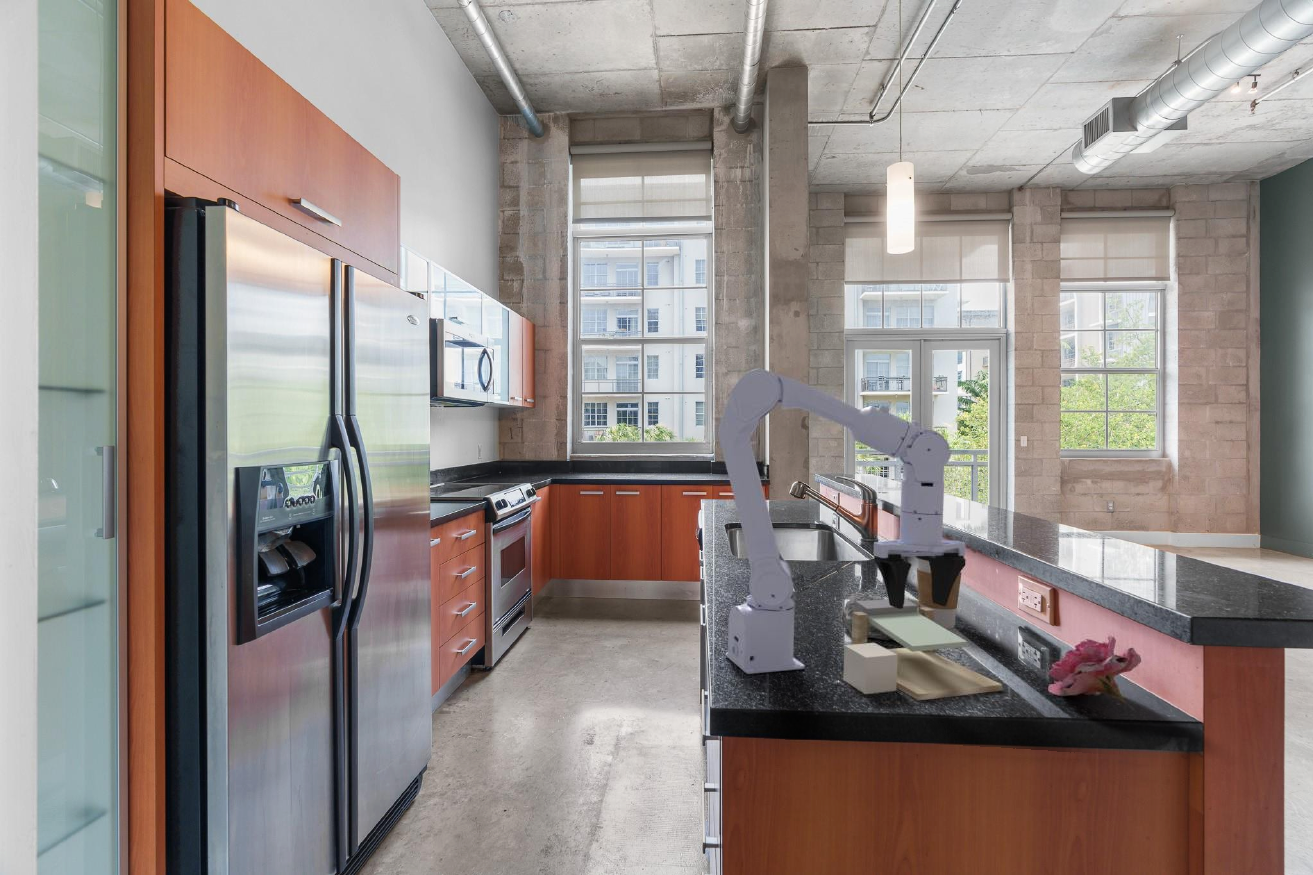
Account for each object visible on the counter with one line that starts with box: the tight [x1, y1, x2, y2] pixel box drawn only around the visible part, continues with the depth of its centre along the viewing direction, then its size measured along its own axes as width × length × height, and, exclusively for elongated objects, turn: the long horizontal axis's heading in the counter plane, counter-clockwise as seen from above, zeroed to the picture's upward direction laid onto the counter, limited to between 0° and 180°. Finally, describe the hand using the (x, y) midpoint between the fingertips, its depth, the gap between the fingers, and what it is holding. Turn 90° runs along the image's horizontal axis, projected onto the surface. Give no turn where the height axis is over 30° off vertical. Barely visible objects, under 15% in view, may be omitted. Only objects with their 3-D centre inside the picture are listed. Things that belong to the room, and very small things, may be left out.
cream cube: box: [842, 642, 897, 695], centre depth 86 cm, size 5×5×5 cm
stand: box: [850, 607, 1003, 701], centre depth 91 cm, size 14×16×8 cm
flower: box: [1047, 635, 1142, 709], centre depth 84 cm, size 11×10×10 cm
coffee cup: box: [914, 551, 965, 630], centre depth 117 cm, size 8×8×15 cm
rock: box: [841, 594, 921, 641], centre depth 110 cm, size 13×6×15 cm
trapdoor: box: [855, 598, 968, 652], centre depth 94 cm, size 9×14×3 cm
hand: (918, 605), depth 90 cm, fingers open, 7 cm apart
